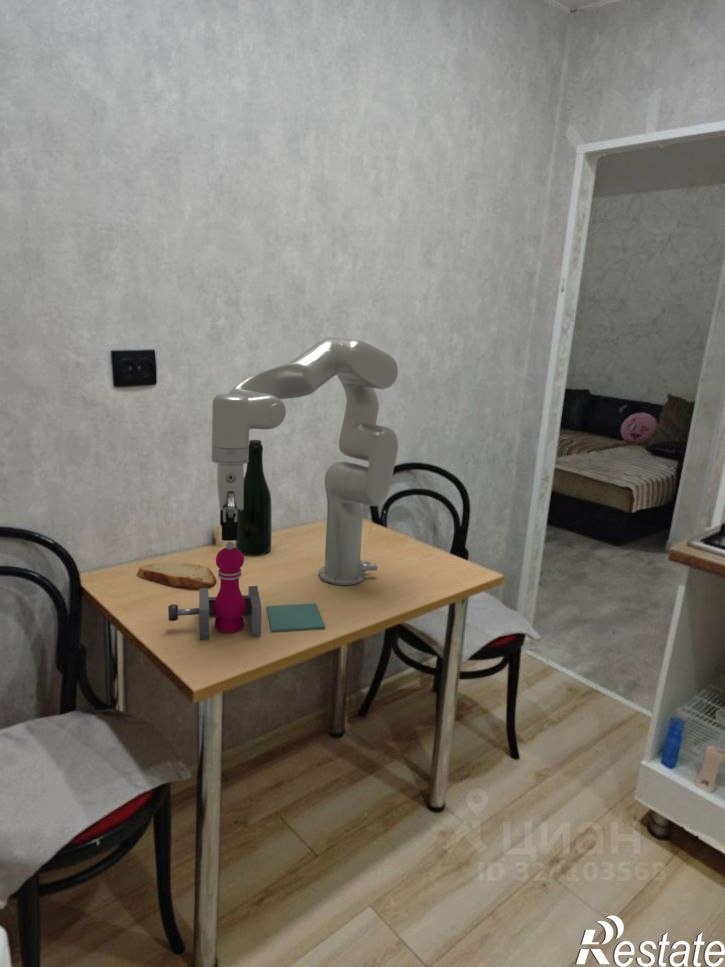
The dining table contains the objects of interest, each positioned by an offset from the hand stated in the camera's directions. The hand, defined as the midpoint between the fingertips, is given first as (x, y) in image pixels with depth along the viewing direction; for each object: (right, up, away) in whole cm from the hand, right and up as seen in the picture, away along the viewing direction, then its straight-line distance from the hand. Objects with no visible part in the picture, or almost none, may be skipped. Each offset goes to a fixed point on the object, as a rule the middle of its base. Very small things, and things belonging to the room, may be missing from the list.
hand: (228, 532), depth 138 cm
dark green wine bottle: (-4, -9, +52) cm, 53 cm away
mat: (+13, -21, +12) cm, 27 cm away
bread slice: (-19, -15, +29) cm, 38 cm away
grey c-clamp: (-4, -21, +6) cm, 22 cm away
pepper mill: (-1, -22, +6) cm, 22 cm away
